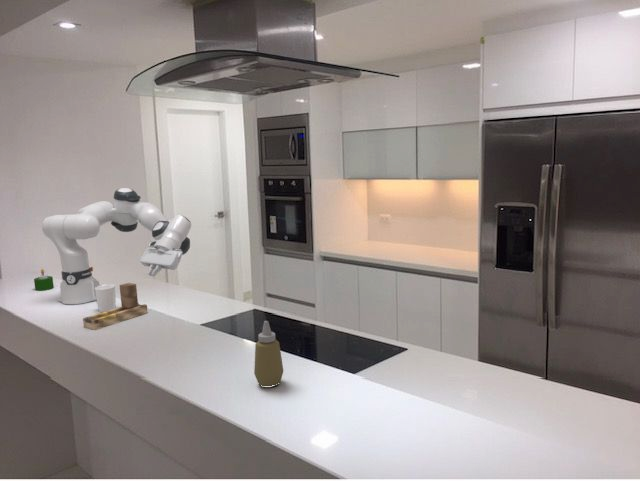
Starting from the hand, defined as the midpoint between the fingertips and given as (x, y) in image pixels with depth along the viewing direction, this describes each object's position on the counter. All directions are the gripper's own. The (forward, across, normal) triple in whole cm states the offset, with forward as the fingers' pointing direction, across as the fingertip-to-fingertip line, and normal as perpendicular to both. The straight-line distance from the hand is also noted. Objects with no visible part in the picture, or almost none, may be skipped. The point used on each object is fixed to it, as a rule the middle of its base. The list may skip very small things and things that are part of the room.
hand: (151, 275), depth 227 cm
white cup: (+18, +16, -2) cm, 24 cm away
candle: (+12, +79, -8) cm, 80 cm away
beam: (+23, 0, +3) cm, 23 cm away
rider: (+16, 0, 0) cm, 16 cm away
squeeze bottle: (+34, -91, +15) cm, 98 cm away
